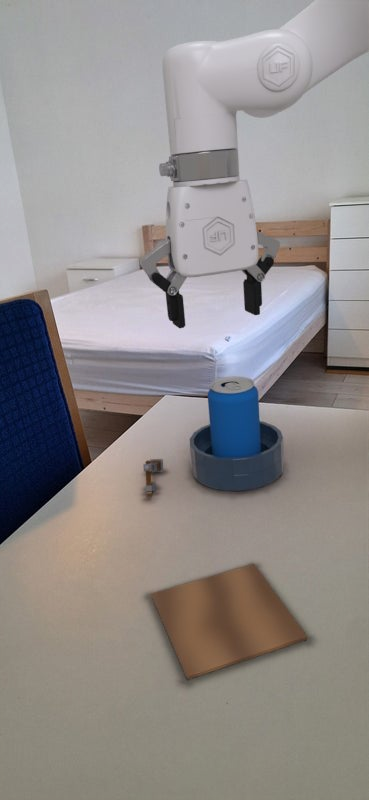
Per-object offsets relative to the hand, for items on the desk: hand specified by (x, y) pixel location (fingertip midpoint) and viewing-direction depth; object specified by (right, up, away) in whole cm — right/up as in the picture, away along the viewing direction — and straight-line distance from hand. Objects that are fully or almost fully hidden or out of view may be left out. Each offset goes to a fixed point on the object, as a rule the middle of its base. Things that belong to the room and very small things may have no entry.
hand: (216, 319), depth 73 cm
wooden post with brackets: (-8, -21, +6) cm, 23 cm away
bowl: (+3, -20, +7) cm, 21 cm away
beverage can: (+3, -19, +7) cm, 21 cm away
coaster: (0, -30, -18) cm, 35 cm away
